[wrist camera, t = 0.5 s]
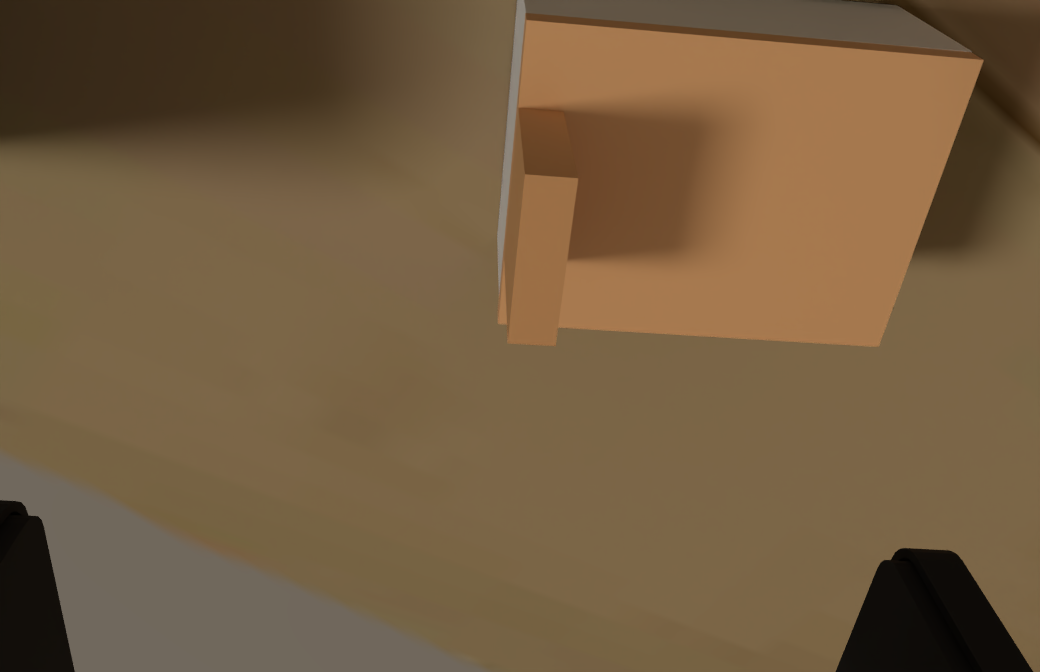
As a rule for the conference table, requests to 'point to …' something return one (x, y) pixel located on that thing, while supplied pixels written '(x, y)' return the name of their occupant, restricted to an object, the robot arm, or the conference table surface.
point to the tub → (732, 7)
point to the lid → (720, 180)
